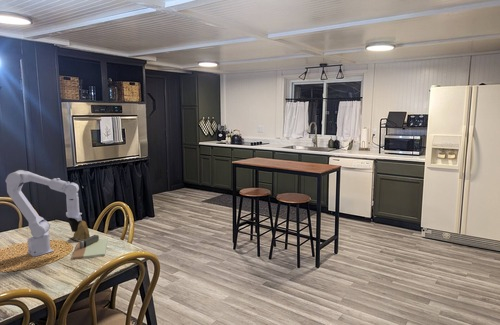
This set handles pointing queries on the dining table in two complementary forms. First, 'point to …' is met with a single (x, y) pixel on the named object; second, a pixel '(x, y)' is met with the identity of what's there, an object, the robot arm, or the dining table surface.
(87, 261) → the dining table surface
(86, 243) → the latch bar
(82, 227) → the rock
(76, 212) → the robot arm
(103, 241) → the door board
